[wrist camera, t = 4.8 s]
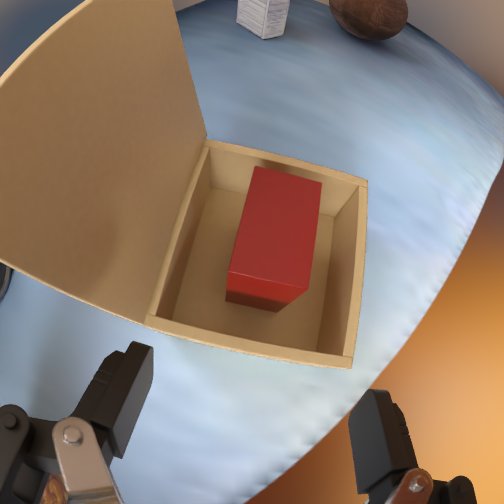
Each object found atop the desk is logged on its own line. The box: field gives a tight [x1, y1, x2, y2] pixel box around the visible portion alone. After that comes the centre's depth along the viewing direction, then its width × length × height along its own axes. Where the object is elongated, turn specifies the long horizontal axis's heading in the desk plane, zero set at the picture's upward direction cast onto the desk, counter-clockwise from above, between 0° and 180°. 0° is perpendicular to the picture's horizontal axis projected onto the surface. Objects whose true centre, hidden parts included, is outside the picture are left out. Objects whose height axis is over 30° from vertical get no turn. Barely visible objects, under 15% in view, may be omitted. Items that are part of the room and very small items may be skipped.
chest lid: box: [0, 0, 207, 325], centre depth 13 cm, size 14×15×5 cm
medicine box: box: [237, 0, 290, 39], centre depth 36 cm, size 8×4×9 cm, turn 35°
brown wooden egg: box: [329, 0, 408, 41], centre depth 37 cm, size 15×15×15 cm
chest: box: [143, 139, 368, 369], centre depth 23 cm, size 14×15×7 cm
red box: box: [225, 166, 322, 313], centre depth 21 cm, size 4×7×9 cm, turn 168°
